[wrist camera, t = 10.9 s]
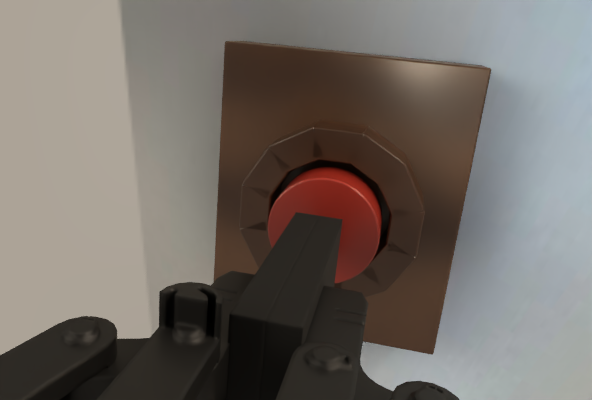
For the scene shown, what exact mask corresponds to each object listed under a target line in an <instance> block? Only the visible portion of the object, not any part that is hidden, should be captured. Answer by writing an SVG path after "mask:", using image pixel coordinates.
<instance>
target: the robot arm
mask: <svg viewBox="0 0 592 400" xmlns="http://www.w3.org/2000/svg"><path fill="white" fill-rule="evenodd" d="M342 221H343V219H337V218H331V217H324V216H318V215H312V214H305V213H299V212H296V213H295V214H294V216H293V217H292V219H291V221H290V222H289V224H288V225H287V227H286V228H285V230H284V231H283V233H282V234H281V236H280V237H279V239H278V240H277V242H276V243H275V245H274V246H273V248H272V249H271V251H270V253H269V254H268V256H267V257H266V259H265V260H264V262H263V263H262V265H261V266H260V268H259V269H258V271H257V272H256V274H255V275H254V274H248V273H243V272H237V271H230V272H228V273H226V274H224V275H222V276H220V277H218V278H217V279H216V280H215V281H214V283H213V284H212V285H211V286H210V285H206V284H203V283H193V282H188V283H178V284H175V285H171V286H168V287H166V288H165V289H163V290H162V291H160V301H159V328H158V329H157V330H156V331H155V333H154V334H153V335H152V336H151V337H150V338H143V339H117V329H116V327H115V325H114V324H113V323H112V322H110V321H109V320H107V319H103V318H98V317H92V316H90V317H88V316H84V317H79V318H74V319H69V320H67V321H64V322H62V323H59V324H57V325H55V326H53V327H52V328H50V329H48V330H46V331H44V332H43V333H41V334H39V335H37V336H35V337H33V338H31V339H30V340H28V341H26V342H24V343H22V344H21V345H19V346H17V347H15V348H13V349H11V350H10V351H8V352H6V353H4V354H2V355H0V400H459V399H458V397H456V396H455V395H454V394H452V393H451V392H450V391H448V390H447V389H445V388H443V387H440V386H438V385H435V384H433V383H428V382H422V381H412V382H405V383H403V384H401V385H399V386H397V387H396V388H395V390H394V391H391V390H388V389H386V388H384V387H382V386H380V385H378V384H377V383H375V382H374V381H373V380H371V379H370V378H369V377H368V376H367V375H366V374H365V373H364V371H363V370H362V367H361V365H360V355H361V349H362V342H363V335H364V329H365V322H366V316H367V309H368V302H367V300H366V299H365V297H364V295H363V294H362V292H357V291H351V290H346V289H340V288H334V284H335V276H336V268H337V260H338V252H339V245H340V237H341V229H342Z"/></svg>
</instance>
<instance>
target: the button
mask: <svg viewBox="0 0 592 400" xmlns="http://www.w3.org/2000/svg"><path fill="white" fill-rule="evenodd" d="M296 212H299V213H305V214H312V215H318V216H324V217H331V218H337V219H343V221H342V229H341V237H340V245H339V252H338V260H337V268H336V276H335V283H340V282H343V281H346V280H349V279H351V278H353V277H355V276H357V275H358V274H360V273H361V272H362V271H363V270H364V269H365V268H366V267H367V266H368V265H369V264H370V263H371V261H372V260H373V258H374V256H375V254H376V252H377V249H378V245H379V240H380V233H381V226H382V212H381V207H380V204H379V201H378V199H377V197H376V195H375V193H374V191H373V190H372V189H371V187H370V186H369V185H368V184H367V183H366V182H365V181H364V180H363V179H362V178H360V177H359V176H357V175H356V174H354V173H352V172H350V171H347V170H344V169H341V168H336V167H319V168H314V169H311V170H308V171H306V172H304V173H301V174H300V175H298V176H297V177H296V178H294V179H293V180H292V181H291V182H290V183H289V185H288V186H287V187H286V188H285V189H284V191H283V192H282V193H281V194H280V195H279V197H278V198H277V199H276V201H275V203H274V204H273V206H272V209H271V211H270V214H269V219H268V236H269V241H270V244H271V247H272V248H273V246H274V245H275V243H276V242H277V240H278V239H279V237H280V236H281V234H282V233H283V231H284V230H285V228H286V227H287V225H288V224H289V222H290V221H291V219H292V217H293V216H294V214H295V213H296Z"/></svg>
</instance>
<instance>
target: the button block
mask: <svg viewBox="0 0 592 400" xmlns="http://www.w3.org/2000/svg"><path fill="white" fill-rule="evenodd" d="M490 74H491V69H490V68H487V67H485V66H482V65H472V64H462V63H452V62H443V61H433V60H423V59H413V58H404V57H394V56H384V55H374V54H364V53H355V52H345V51H335V50H325V49H316V48H306V47H296V46H286V45H276V44H267V43H257V42H247V41H226V42H225V53H224V74H223V96H222V117H221V139H220V160H219V182H218V203H217V225H216V246H215V268H214V281H215V280H216V279H217V278H218V277H220V276H222V275H224V274H226V273H228V272H230V271H237V272H243V273H248V274H254V275H255V274H256V272H257V271H258V269H259V268H260V266H261V265H262V263H263V262H264V260H265V259H266V257H267V256H268V254H269V253H270V251H271V249H272V247H271V244H270V241H269V236H268V219H269V214H270V211H271V209H272V206H273V204H274V203H275V201H276V199H277V198H278V197H279V195H280V194H281V193H282V192H283V191H284V189H285V188H286V187H287V186H288V185H289V183H290V182H291V181H292V180H293V179H294V178H296V177H297V176H298V175H300V174H301V173H304V172H306V171H308V170H311V169H314V168H319V167H336V168H341V169H344V170H347V171H350V172H352V173H354V174H356V175H357V176H359V177H360V178H362V179H363V180H364V181H365V182H366V183H367V184H368V185H369V186H370V187H371V189H372V190H373V191H374V193H375V195H376V197H377V199H378V201H379V204H380V207H381V212H382V226H381V233H380V240H379V245H378V249H377V252H376V254H375V256H374V258H373V260H372V261H371V263H370V264H369V265H368V266H367V267H366V268H365V269H364V270H363V271H362V272H361V273H360V274H358V275H357V276H355V277H353V278H351V279H349V280H346V281H343V282H340V283H335V284H334V288H340V289H346V290H351V291H357V292H362V294H363V295H364V297H365V299H366V300H367V302H368V309H367V316H366V322H365V329H364V335H363V341H365V342H370V343H375V344H381V345H386V346H391V347H396V348H401V349H406V350H412V351H417V352H422V353H427V354H433V353H434V348H435V343H436V338H437V333H438V328H439V324H440V319H441V314H442V309H443V304H444V299H445V294H446V289H447V284H448V279H449V275H450V270H451V265H452V260H453V255H454V250H455V245H456V240H457V235H458V230H459V226H460V221H461V216H462V211H463V206H464V201H465V196H466V191H467V186H468V181H469V176H470V172H471V167H472V162H473V157H474V152H475V147H476V142H477V137H478V132H479V127H480V123H481V118H482V113H483V108H484V103H485V98H486V93H487V88H488V83H489V78H490Z"/></svg>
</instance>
